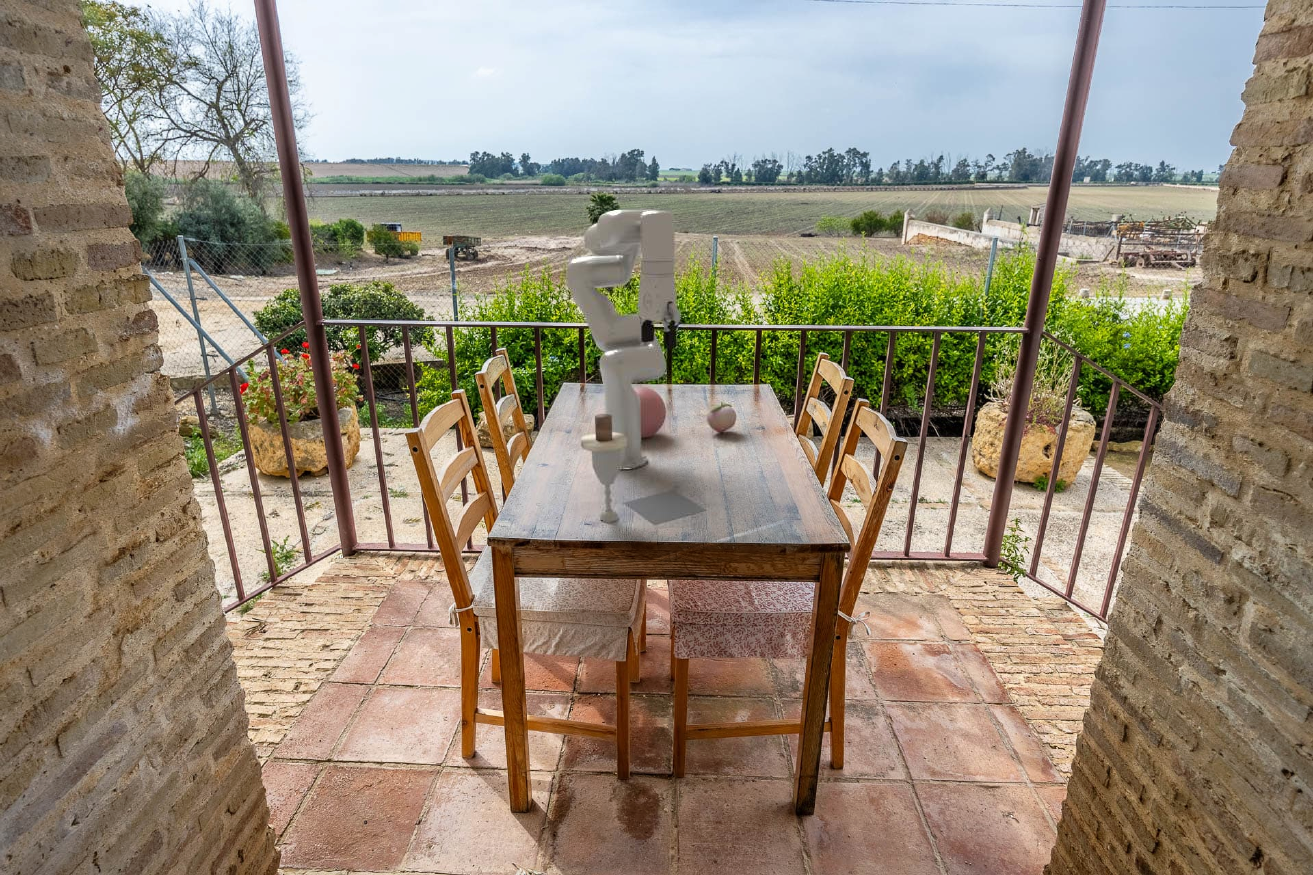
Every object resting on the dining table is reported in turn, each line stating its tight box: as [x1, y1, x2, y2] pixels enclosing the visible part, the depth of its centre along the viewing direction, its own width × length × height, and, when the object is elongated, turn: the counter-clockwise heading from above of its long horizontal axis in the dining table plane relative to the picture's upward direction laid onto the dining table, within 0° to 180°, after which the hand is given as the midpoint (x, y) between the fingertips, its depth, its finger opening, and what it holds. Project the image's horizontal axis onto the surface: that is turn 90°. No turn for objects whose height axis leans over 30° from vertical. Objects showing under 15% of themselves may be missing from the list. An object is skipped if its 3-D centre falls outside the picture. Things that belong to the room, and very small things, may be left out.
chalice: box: [591, 449, 621, 523], centre depth 154 cm, size 7×7×18 cm
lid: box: [580, 413, 627, 452], centre depth 150 cm, size 10×10×6 cm
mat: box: [623, 489, 707, 526], centre depth 162 cm, size 14×14×1 cm
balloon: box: [632, 386, 667, 439], centre depth 212 cm, size 15×20×15 cm
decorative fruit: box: [706, 401, 737, 434], centre depth 212 cm, size 9×8×10 cm
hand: (658, 344), depth 161 cm, fingers open, 9 cm apart
